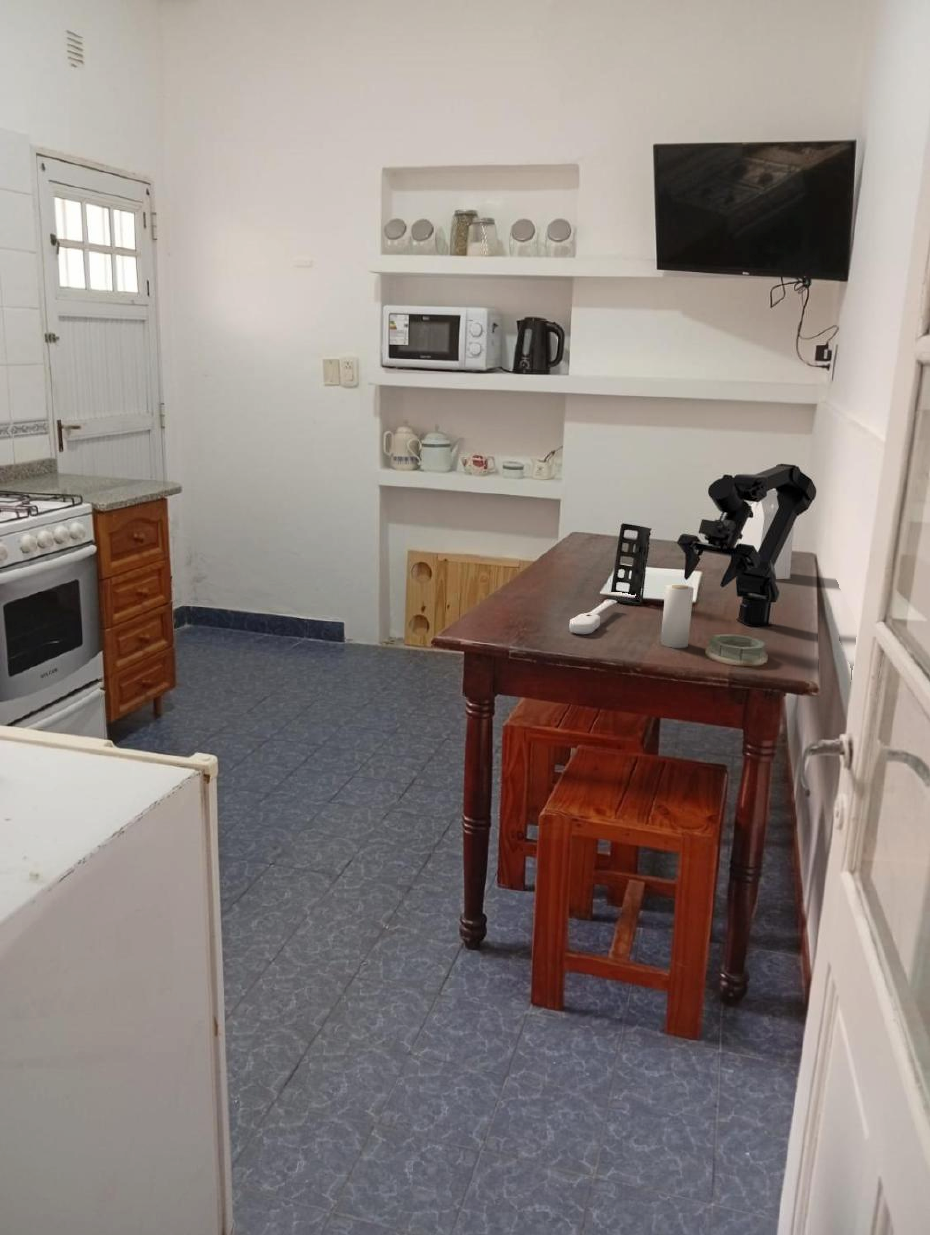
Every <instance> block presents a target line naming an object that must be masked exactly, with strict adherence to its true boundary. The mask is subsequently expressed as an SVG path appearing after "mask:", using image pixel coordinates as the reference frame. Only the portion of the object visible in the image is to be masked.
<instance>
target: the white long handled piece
mask: <svg viewBox="0 0 930 1235" xmlns="http://www.w3.org/2000/svg"><path fill="white" fill-rule="evenodd" d="M617 603H618V601H616V600H613V599H605V600H603V603H601V604H600V605H598V606H597V607H595V608H594V609H592V610H591V611H590V612H587V613H585V612H584V613H579V614H578V615H577V616H575V617H573V618H571V619H570V620H569V631H570V632H571V633H573V634H578V635H587V634H592V633H594V632H595V630H598V629H599V627H600V623H601V616H600V615H599V614H600V613H602V612H603V611H605V610H606V609H607V608H609V607H610V606H612V605H615V604H617Z"/></svg>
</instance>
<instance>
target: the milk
mask: <svg viewBox="0 0 930 1235" xmlns="http://www.w3.org/2000/svg"><path fill="white" fill-rule="evenodd" d="M777 494H778V493H777V491H776V489H775V488H774V489H772V490H769V491H767V496H766V497H765V498H764V499H762V500H761V501H759V502H753V503H751V505H750V506H751V507H752V512H753V518H748V519H747V521H746V523H745V525H744V527H743V530H742V532H741V533H742V535H743V537H742V539H738V544H739V543H741V544H747V545H753V546H754V547H755V549H756V550H757V552H758V550H759V548H760V546H761V544H762V542H763V540H764V538H765V535H766V533H767V531H768V529H769V527H770V525H771V523H772V521H773V518H774V516H775V514H776V512H777V510H778V507H779V506H778V501H777ZM794 526H795V523H794V524H793V526H792V528H791V531H790V533H789V535H788V537H787V539H786V541H785V543H784V546H783V548H782V550H781V552H780V554H779V556H778V559H777V561H776V563H775V565H774V568H775V574H776V579H775V580H782V579H783V580H785V579H787V580H789V579H791V564H792V550H793V542H794V541H793V539H794V528H795V527H794Z"/></svg>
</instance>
